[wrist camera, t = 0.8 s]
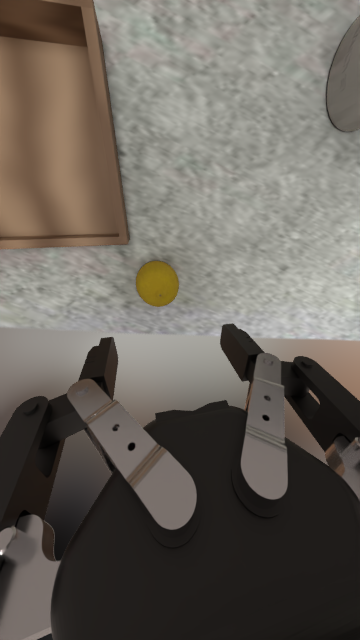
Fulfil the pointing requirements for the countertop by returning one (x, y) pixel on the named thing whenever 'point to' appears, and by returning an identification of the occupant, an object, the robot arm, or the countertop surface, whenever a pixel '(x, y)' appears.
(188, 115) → the countertop surface
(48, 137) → the tray
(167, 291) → the lemon
